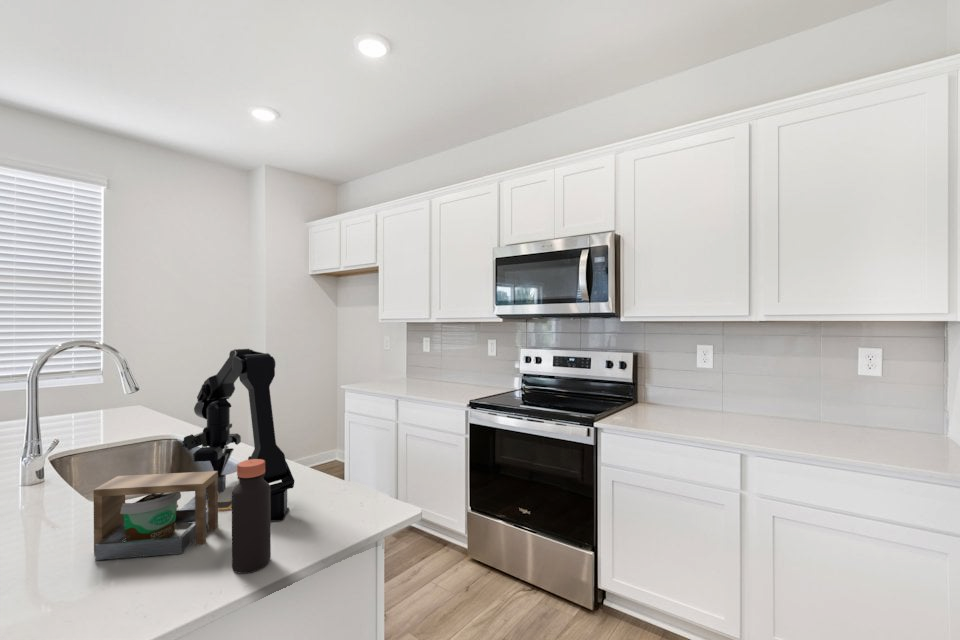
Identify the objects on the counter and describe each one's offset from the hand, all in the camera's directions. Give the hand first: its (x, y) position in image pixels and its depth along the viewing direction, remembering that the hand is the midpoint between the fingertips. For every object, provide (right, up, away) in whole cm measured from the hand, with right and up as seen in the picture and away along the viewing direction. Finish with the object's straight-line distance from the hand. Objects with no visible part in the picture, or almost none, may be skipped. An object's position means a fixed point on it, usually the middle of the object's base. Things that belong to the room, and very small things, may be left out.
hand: (218, 476), depth 131 cm
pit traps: (+3, -3, -16) cm, 16 cm away
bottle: (+30, -3, -42) cm, 52 cm away
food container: (+5, -3, -32) cm, 32 cm away
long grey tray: (+4, -2, -22) cm, 22 cm away
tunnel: (+5, -3, -32) cm, 32 cm away
